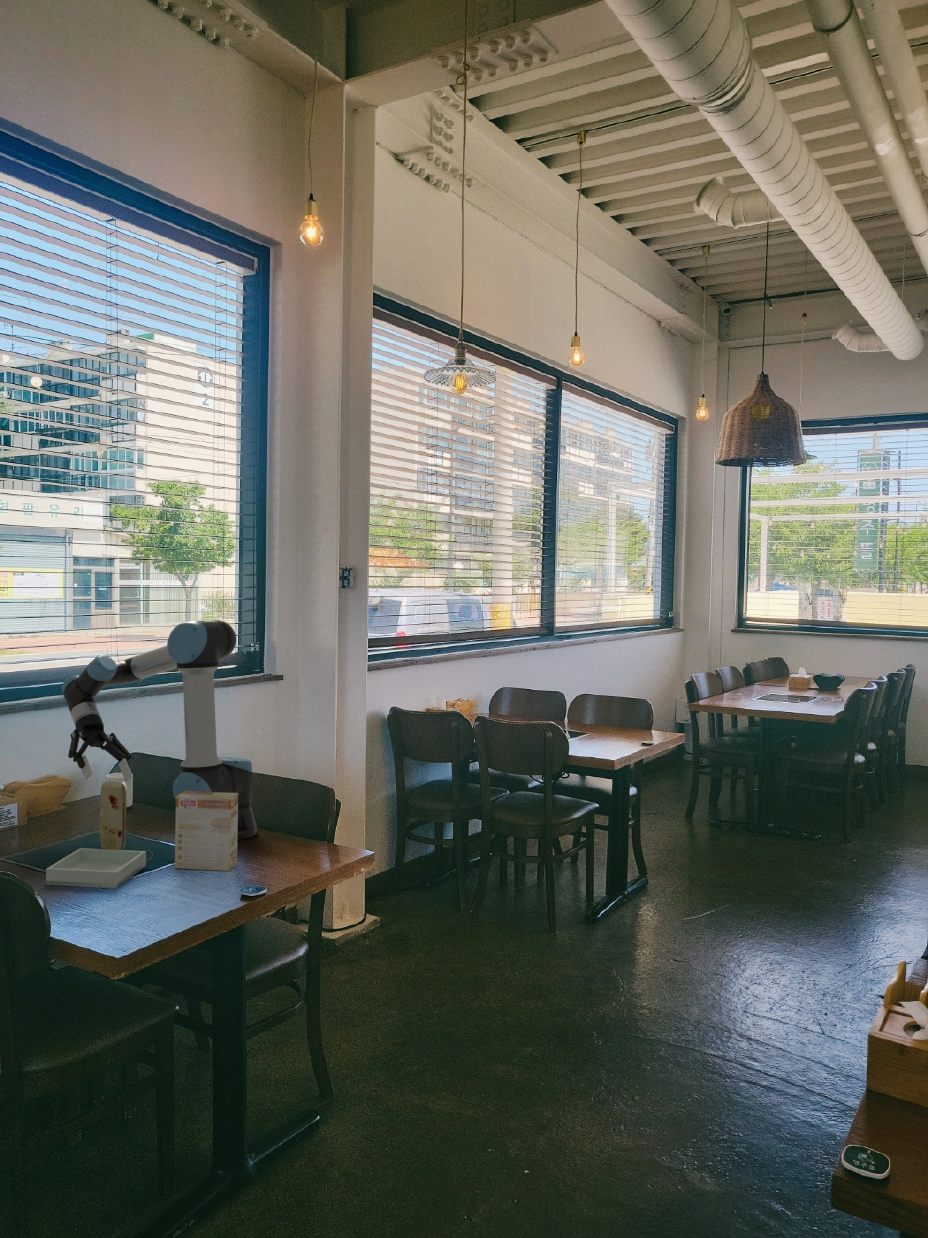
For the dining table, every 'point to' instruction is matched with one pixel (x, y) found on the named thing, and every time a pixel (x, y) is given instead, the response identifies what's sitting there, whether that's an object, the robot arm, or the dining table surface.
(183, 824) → the coffeecake box
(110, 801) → the food model
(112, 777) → the mug
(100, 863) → the bin
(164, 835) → the dining table surface
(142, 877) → the dining table surface
